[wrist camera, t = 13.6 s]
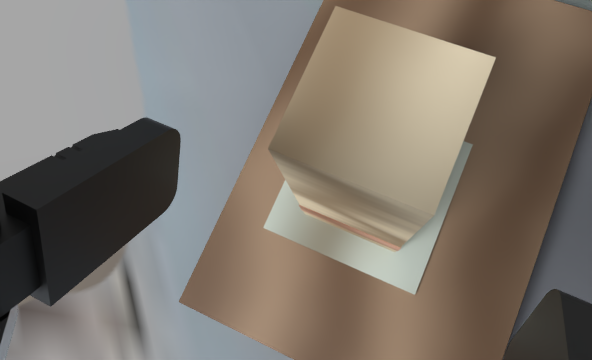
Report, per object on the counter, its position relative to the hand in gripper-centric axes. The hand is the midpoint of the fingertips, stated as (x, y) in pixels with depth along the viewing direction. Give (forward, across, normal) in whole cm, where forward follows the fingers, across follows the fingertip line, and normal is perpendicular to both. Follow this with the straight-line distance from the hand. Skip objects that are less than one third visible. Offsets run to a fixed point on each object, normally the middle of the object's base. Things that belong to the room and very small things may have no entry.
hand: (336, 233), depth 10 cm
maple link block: (+11, +1, +6) cm, 12 cm away
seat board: (+14, 0, +5) cm, 15 cm away
